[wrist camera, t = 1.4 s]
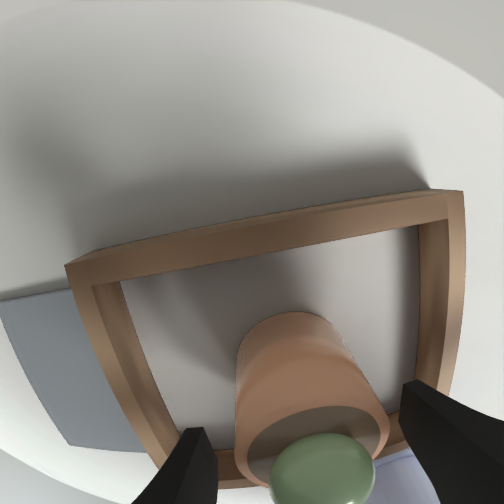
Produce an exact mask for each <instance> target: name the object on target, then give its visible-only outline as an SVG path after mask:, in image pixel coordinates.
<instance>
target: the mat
mask: <svg viewBox="0 0 504 504" xmlns="http://www.w3.org/2000/svg"><path fill="white" fill-rule="evenodd" d="M0 317H1V320H2V323H3V325H4V328H5V330H6V333H7V335H8V338H9V340H10V342H11V345H12V347H13V349H14V351H15V353H16V356H17V358H18V360H19V362H20V364H21V366H22V368H23V370H24V372H25V374H26V376H27V378H28V380H29V382H30V384H31V385H32V387H33V389H34V391H35V393H36V394H37V396H38V398H39V400H40V401H41V403H42V405H43V406H44V408H45V410H46V411H47V413H48V415H49V416H50V418H51V419H52V421H53V422H54V424H55V425H56V427H57V428H58V430H59V431H60V433H61V434H62V436H63V437H64V439H65V440H66V441H67V443H68V444H69V445H71V446H78V447H85V448H93V449H101V450H111V451H124V452H142V453H147V451H146V450H145V448H144V446H143V445H142V443H141V442H140V440H139V438H138V437H137V435H136V433H135V432H134V430H133V428H132V426H131V425H130V423H129V421H128V419H127V418H126V416H125V414H124V412H123V410H122V408H121V407H120V405H119V403H118V401H117V399H116V397H115V395H114V393H113V391H112V389H111V387H110V385H109V383H108V381H107V379H106V377H105V374H104V372H103V370H102V368H101V366H100V363H99V361H98V359H97V357H96V354H95V352H94V350H93V347H92V345H91V342H90V340H89V337H88V335H87V332H86V330H85V327H84V324H83V322H82V319H81V316H80V314H79V311H78V308H77V305H76V302H75V299H74V296H73V293H72V290H71V288H68V289H63V290H57V291H52V292H46V293H41V294H36V295H30V296H25V297H19V298H14V299H8V300H3V301H0Z"/></svg>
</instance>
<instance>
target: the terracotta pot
mask: <svg viewBox="0 0 504 504" xmlns="http://www.w3.org/2000/svg"><path fill="white" fill-rule="evenodd" d="M389 432H390V421H389V418H388V415H387V413H386V412H385V410H384V408H383V407H382V405H381V403H380V401H379V400H378V398H377V396H376V395H375V393H374V391H373V390H372V388H371V386H370V385H369V383H368V381H367V380H366V378H365V376H364V375H363V373H362V371H361V370H360V368H359V366H358V365H357V363H356V361H355V360H354V358H353V356H352V355H351V353H350V351H349V350H348V348H347V347H346V345H345V343H344V342H343V340H342V338H341V337H340V335H339V334H338V332H337V331H336V329H335V328H334V327H333V326H332V325H331V324H330V323H329V322H328V321H326V320H325V319H323V318H321V317H319V316H317V315H314V314H311V313H306V312H286V313H281V314H277V315H274V316H271V317H269V318H267V319H265V320H263V321H261V322H260V323H258V324H257V325H256V326H254V327H253V328H252V329H251V330H250V331H249V332H248V333H247V334H246V336H245V337H244V339H243V340H242V342H241V344H240V346H239V349H238V353H237V367H236V404H235V448H234V456H235V463H236V466H237V468H238V469H239V471H240V472H241V473H242V474H243V475H244V476H245V477H246V478H247V479H248V480H250V481H252V482H253V483H255V484H258V485H260V486H263V487H266V488H269V492H270V496H271V498H272V501H273V502H274V504H365V503H366V501H367V500H368V498H369V496H370V495H371V493H372V490H373V488H374V484H375V476H376V471H375V465H374V462H373V460H374V459H375V458H376V456H377V455H378V454H379V453H380V452H381V450H382V449H383V447H384V445H385V444H386V442H387V439H388V436H389Z"/></svg>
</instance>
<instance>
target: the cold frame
mask: <svg viewBox="0 0 504 504" xmlns="http://www.w3.org/2000/svg"><path fill="white" fill-rule="evenodd" d="M413 225H418V231H419V249H420V317H419V334H418V347H417V358H416V367H415V376H414V380H416V379H418V380H420V381H422V382H424V383H425V384H427V385H429V386H431V387H432V388H434V389H436V390H437V391H439V392H441V393H443V394H444V395H446V396H449V392H450V387H451V383H452V378H453V374H454V369H455V363H456V358H457V352H458V346H459V339H460V332H461V324H462V315H463V305H464V292H465V273H466V227H465V208H464V195H463V191H457V190H444V189H424V190H417V191H410V192H403V193H396V194H389V195H382V196H375V197H369V198H362V199H356V200H349V201H343V202H337V203H331V204H325V205H319V206H313V207H307V208H301V209H296V210H290V211H284V212H279V213H273V214H268V215H262V216H257V217H252V218H246V219H241V220H236V221H231V222H226V223H220V224H215V225H210V226H205V227H200V228H196V229H191V230H186V231H181V232H176V233H172V234H167V235H162V236H158V237H153V238H148V239H144V240H139V241H135V242H130V243H126V244H121V245H117V246H113V247H108V248H104V249H100V250H96V251H92V252H90V253H88V254H86V255H83V256H81V257H79V258H77V259H75V260H73V261H71V262H69V263H67V264H65V265H64V267H65V270H66V273H67V277H68V280H69V283H70V287H71V290H72V293H73V296H74V299H75V302H76V305H77V308H78V311H79V314H80V316H81V319H82V322H83V324H84V327H85V330H86V332H87V335H88V337H89V340H90V342H91V345H92V347H93V350H94V352H95V354H96V357H97V359H98V361H99V363H100V366H101V368H102V370H103V372H104V374H105V377H106V379H107V381H108V383H109V385H110V387H111V389H112V391H113V393H114V395H115V397H116V399H117V401H118V403H119V405H120V407H121V408H122V410H123V412H124V414H125V416H126V418H127V419H128V421H129V423H130V425H131V426H132V428H133V430H134V432H135V433H136V435H137V437H138V438H139V440H140V442H141V443H142V445H143V446H144V448H145V450H146V451H147V453H148V454H149V456H150V457H151V459H152V461H153V462H154V464H155V465H156V467H157V468H158V469H159V470H160V468H161V467H162V465H163V464H164V462H165V461H166V460H167V458H168V457H169V455H170V453H171V452H172V450H173V449H174V447H175V445H176V444H177V442H178V440H179V439H180V435H179V433H178V431H177V429H176V427H175V425H174V423H173V421H172V419H171V417H170V414H169V412H168V410H167V408H166V406H165V404H164V401H163V399H162V397H161V395H160V392H159V390H158V388H157V386H156V383H155V381H154V378H153V376H152V374H151V371H150V369H149V366H148V364H147V361H146V359H145V356H144V353H143V351H142V348H141V345H140V343H139V340H138V337H137V335H136V332H135V329H134V326H133V323H132V320H131V317H130V314H129V311H128V308H127V305H126V302H125V299H124V296H123V292H122V289H121V286H120V282H119V281H121V280H127V279H132V278H138V277H143V276H149V275H154V274H159V273H165V272H170V271H176V270H181V269H186V268H192V267H197V266H202V265H208V264H213V263H219V262H224V261H229V260H235V259H240V258H245V257H250V256H256V255H261V254H266V253H272V252H277V251H282V250H288V249H293V248H298V247H303V246H309V245H314V244H319V243H324V242H330V241H335V240H340V239H345V238H350V237H356V236H361V235H366V234H371V233H376V232H382V231H387V230H392V229H397V228H402V227H407V226H413ZM388 418H389V421H390V432H389V436H388V439H387V442H386V444H385V445H384V447H383V449H382V450H381V452H380V453H379V454H378V455H377V456H376V458H375V459H374V460H377V459H380V458H383V457H386V456H389V455H391V454H394V453H397V452H399V451H402V450H404V449H407V448H409V445H408V443H407V441H406V439H405V437H404V435H403V432H402V430H401V428H400V425H399V423H398V418H399V411H398V412H395V413H392V414H389V415H388ZM214 453H215V455H216V457H217V459H218V489H233V488H245V487H255V486H260V485H258V484H255V483H253V482H252V481H250V480H248V479H247V478H246V477H245V476H244V475H243V474H242V473H241V472H240V471H239V469H238V468H237V466H236V463H235V456H234V449H227V450H215V451H214ZM374 460H373V461H374Z"/></svg>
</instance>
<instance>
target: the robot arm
mask: <svg viewBox="0 0 504 504" xmlns="http://www.w3.org/2000/svg"><path fill="white" fill-rule="evenodd" d="M398 423H399V425H400V428H401V430H402V432H403V435H404V437H405V439H406V441H407V443H408V445H409V448H407V449H404V450H402V451H399V452H397V453H394V454H391V455H389V456H386V457H383V458H380V459H377V460H374V461H373V462H374V465H375V471H376V476H375V484H374V488H373V490H372V493H371V495H370V496H369V498H368V500H367V501H366V503H365V504H504V421H502V420H499V419H496V418H493V417H490V416H487V415H485V414H483V413H480V412H478V411H476V410H473V409H471V408H469V407H467V406H465V405H463V404H461V403H459V402H457V401H455V400H453V399H452V398H450V397H448V396H446V395H444V394H443V393H441V392H439V391H437V390H436V389H434V388H432V387H431V386H429V385H427V384H425V383H424V382H422V381H420V380H418V379H416V380H413V381H411V382H408V383H405V384H403V390H402V397H401V405H400V411H399V418H398ZM217 493H218V459H217V457H216V455H215V453H214V451H213V449H212V446H211V444H210V442H209V440H208V438H207V435H206V433H205V431H204V428H203V427H198V428H186V429H185V430H184V432H183V434H182V435H181V437H180V439H179V440H178V442H177V444H176V445H175V447H174V449H173V450H172V452H171V453H170V455H169V457H168V458H167V460H166V461H165V462H164V464H163V465H162V467H161V468H160V470H159V471H158V473H157V474H156V475H155V477H154V478H153V479H152V480H151V482H150V483H149V484H148V485H147V487H146V488H145V489H144V490H143V492H142V493H141V494H140V495H139V496H138V497H137V498H136V499H135V500H134V501H133V502H132V503H131V504H216V503H217Z"/></svg>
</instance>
